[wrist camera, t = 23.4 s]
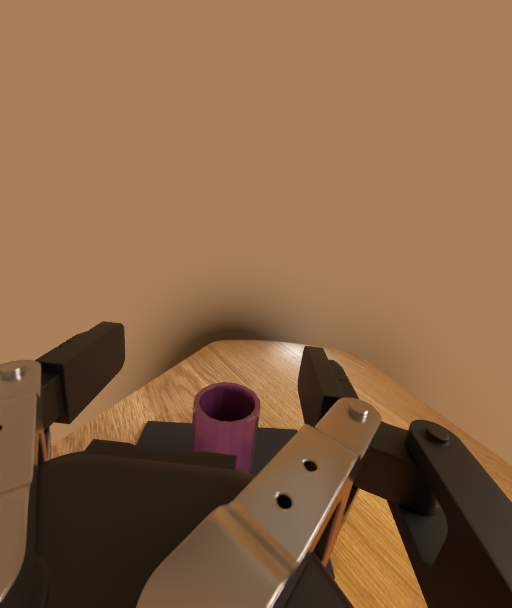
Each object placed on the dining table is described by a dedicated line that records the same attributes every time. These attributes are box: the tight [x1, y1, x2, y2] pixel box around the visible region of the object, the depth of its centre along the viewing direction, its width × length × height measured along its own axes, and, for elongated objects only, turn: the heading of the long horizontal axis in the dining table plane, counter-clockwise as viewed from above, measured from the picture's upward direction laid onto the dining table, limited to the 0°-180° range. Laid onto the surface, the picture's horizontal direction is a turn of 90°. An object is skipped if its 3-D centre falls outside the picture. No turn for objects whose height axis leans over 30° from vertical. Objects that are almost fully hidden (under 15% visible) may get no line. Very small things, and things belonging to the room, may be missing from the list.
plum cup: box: [191, 382, 260, 474], centre depth 27 cm, size 6×6×10 cm
